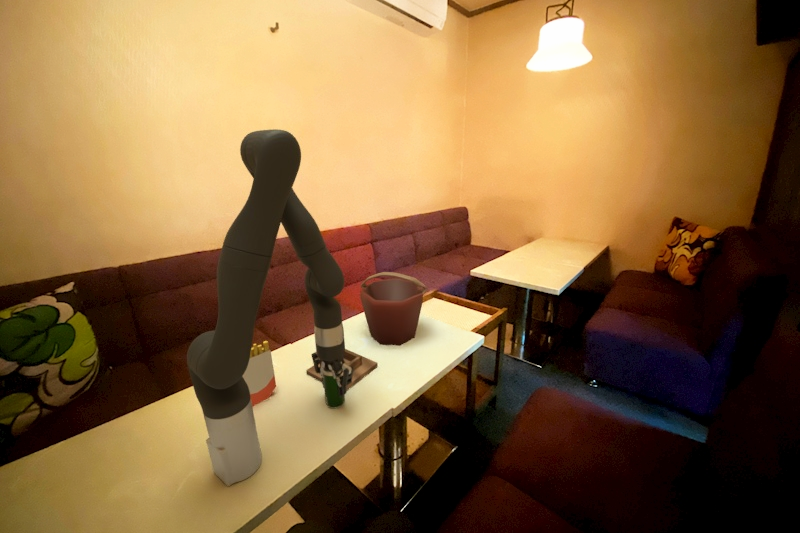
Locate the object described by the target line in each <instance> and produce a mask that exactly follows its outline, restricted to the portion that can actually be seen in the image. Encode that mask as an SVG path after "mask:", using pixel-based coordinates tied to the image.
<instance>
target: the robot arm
mask: <svg viewBox="0 0 800 533" xmlns="http://www.w3.org/2000/svg"><path fill="white" fill-rule="evenodd" d="M239 147H240V148H239V152H240V158H241V160H242V162H243V165H244V166H245V168H246V169H247V171H248V173H249V174H250V176H251V177H252V180H253V181H252V185H251V189H250V192H249V194H248V197H247V200H246V202H245V203H244V206H243V207H242V208H241V210H240V211H239V213H238V215H237V216H236V217H235V219H234V221H233V222H232V223H231V225H230V227H229V228H228V231H227V232H226V235H225V237H224V239H223V243H222V247H221V250H220V255H219V258H218V263H217V269H216V286H217V289H216V290H217V303H218V313H217V314H218V315H217V321H216V325H215V330H209V331H206V332H203V333H201V334H200V335H198V336H197V337H195V338H194V339H193V341H192V342H191V343H190V345H189V346H188V349H187V352H186V353H187V354H186V364H187V369H188V372H189V376H190V380H191V383H192V387H193V390H194V393H195V397H196V398H197V401H198V403H199V404H200V407H201V410H202V414H203V418H204V421H205V426H206V431H207V435H208V437H207V438H206V440H205V442H206V446H207V450H208V453H209V459H210V462H211V467H212V470H213V473H214V475H216V476H217V477H218V478H219V479H220V480H221V481H222V482H223V483H224V484H225V485H226V486H227V487H230V486H231V485H233V484H235V483H238V482H242V481H245V480H247V479H248V478H249V477H251V476H253V475H254V474H255V473H256V472H257V470H258V469H259V468H260V466H261V463H262V462H263V461H262V460H263V456H262V450H261V447H260V446H261V444H260V440H259V435H258V431H257V430H258V429H257V425H256V420H255V415H254V414H255V413H254V409H253V407H254V406H252V402H251V397H250V391H249V387H248V385H247V383H246V382H245V380H244V378H243V374H244V373H245V371H246V369H247V366H248V363H249V359H250V353H251V348H252V347H253V338H254V330H255V325H256V321H257V315H258V311H259V308H260V303H261V300H262V296H263V291H264V286H265V283H266V280H267V277H268V273H269V269H270V266H271V262H272V258H273V254H274V250H275V246H276V241H277V237H278V233H279V232H280V231H279V230H280V226H281V225H282V227H283V229H284V231H285V233H286V235H287V236H288V240H289V241H290V244H291V245H292V247H293V248H292V249H294V252H295V254H296V257H297V259H298V260H299V261H300V263H302V264H303V265H304V266H305V267H307V270H306V271H305V273H304V287H305V291H306V294H307V297H308V299H309V303H310V305H311V307H312V311H313V312H312V314H313V324H314V332H313V333H314V341H315V342H314V343H315V350H316V351H314V352H313V353H311V359H312V364H313V366H314V367H315V371H316V373H320V376H321V377H322V382H321V384H322V388H323V389H324V381H323V368H324V369H325V367H327V368H328V369H330V370H331V372H332V374H333V377H334V379H336V381H337V384H338V396H339V397H342V396H343V395H345V396H346V394H347V391H346V386H347V385H349V384H350V383H352V376H353V366H352V365H350V366H348V365H346V364H345V361H344V358H343V356H344V353H345V349H346V345H345V344H346V343H345V333H344V332H345V330H344V324H343V319H342V318H343V316H342V315H343V314H342V307H341V304H340V301H338V299H336V298H335V297H337V296H339V294H340V293H342V291H343V290H344V287H345V276H344V273H343V271H342V269H341V266H340V265H339V264H338V262H337V261H336V259H335V258H334V256H333V255H332V253H331V252H330V251H329V249H328V248H327V245H326V243H325V239H324V237H323V234H322V233H321V230H320V228H319V225H318V223H317V222H316V220H315V219H314V216H312V214H311V213H310V212H309V211H308V209H307V208H306V206H305V205H304V203H302V201H301V200H300V198H299V197H298V195H297V194H296V192H295V190H294V189H293V186H294V184H295V181H296V178H297V176H298V173H299V170H300V166H301V161H302V150H301V146H300V143H299V142H298V139H297V138H296V137H295V136H294V135H293V134H292V133H291V132H289V131H287V130H285V129H274V128H273V129H262V130H261V129H259V130H254V131H252V132H249V133H247V134H246V135H245V136H244V137H243V139H242V140H241V142H240V146H239ZM319 364H320V367H318V365H319ZM341 370H342V372H341V373H340V374H339V375H337V374H336V373H338V372H339V371H341ZM341 376H342V380H340V377H341Z"/></svg>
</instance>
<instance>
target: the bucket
mask: <svg viewBox="0 0 800 533" xmlns="http://www.w3.org/2000/svg"><path fill="white" fill-rule="evenodd" d="M380 277H394V278H387V279H379V280H373V279H375V278H380ZM370 280H371V281H370ZM372 280H373V281H372ZM368 281H370V282H369V283H368V284H366V283H367V282H368ZM360 288H361V289H360V291H359V292H360V293H359V294H360V295H359V296H360V301H361V304H362V308H363V312H364V316H365V321H366V324H367V327H368V331H369V335H370V337H371V338H372V339H373V340H375V341H376V342H377V343H378V344H379V345H383V346H384V345H385V346H397V347H398V346H402V345H404V344H406V343H408V342H410V341H412V340H414V339H415V338H416V334H417V330H418V324H419V319H420V315H421V312H422V311H421V310H422V306H423V303H424V295H425V294H426V292H427V291H428V289H427V286H426V285H425V284H424V283H423V282H421V281H420V280H418V278H416V277H413V276H409V275H406V274H403V273H399V272H395V271H394V272H392V271H383V272H379V273H374V274H373V275H370V276H368V277H366V278H365V279H364V281H363V282H362V283H360Z"/></svg>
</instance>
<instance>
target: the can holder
mask: <svg viewBox="0 0 800 533" xmlns="http://www.w3.org/2000/svg"><path fill="white" fill-rule="evenodd" d="M343 358H344V361H345V364H346V365H348V366H350V365H352V366H353V376H352V383H350V384H349V385H347V386H346V392H347V391H348V390H350V389H351V388H352V387H354V386H355V385H356V384H357V383H359V382H360V381H361V380H362V379H363V378H365V377H366V376H368V375H369V374H370V373H371V372H373V371H375V370H376V368H378V362H376V361H374V360H372V359H370V358H368V357H366V356H363V355H361V354H358V353H356V352H353V351H351V350H349V349H347V348H345V353H344V356H343ZM318 367H320V364H319V365H318ZM305 371H306V372H305V373H306V375H307V376H309V377H311V378H313V379H315V380H317V381H318V382H319V383H320V382H321V383H322V377H321V376H320V373H316V371H315V367H314V365H312V366H310V367H309V368H307V369H306V370H305ZM349 388H350V389H349Z"/></svg>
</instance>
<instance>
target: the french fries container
mask: <svg viewBox="0 0 800 533" xmlns="http://www.w3.org/2000/svg"><path fill="white" fill-rule="evenodd" d="M262 345H263V346H262ZM272 356H273V355H272V351H271V348H270V346H269V341H268V340H265V341H262V344H258V345H257V343H252V346H251V353H250V359H249V363H248V366H247V369H246V371H245V373H244V374H243V378H244V380H245V382H246V383H247V385H248V387H249V391H250V397H251V402H252V407H254V406H255V405H256V406H257V405H258V404H259V403H261V402H264V401H265V400H267V399H269V398H270V396H271V395H272V394H273V392H274V391H275V389H276V387H277V384H276V376H275V370H274V363H273V357H272Z"/></svg>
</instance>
